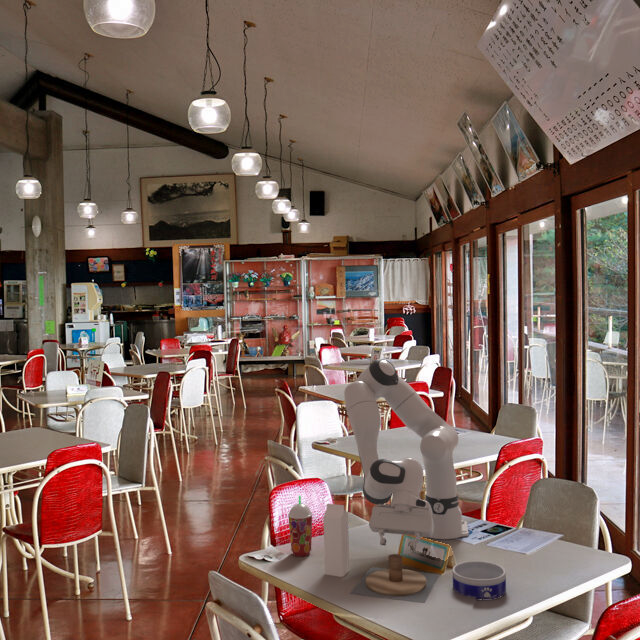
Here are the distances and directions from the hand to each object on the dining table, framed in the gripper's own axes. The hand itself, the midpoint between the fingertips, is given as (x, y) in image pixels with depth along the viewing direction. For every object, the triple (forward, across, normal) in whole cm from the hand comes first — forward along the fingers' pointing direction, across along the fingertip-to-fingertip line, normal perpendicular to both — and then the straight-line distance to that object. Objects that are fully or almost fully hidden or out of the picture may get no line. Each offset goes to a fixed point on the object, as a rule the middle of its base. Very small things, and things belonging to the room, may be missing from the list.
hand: (397, 546), depth 216 cm
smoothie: (-1, -37, +16) cm, 40 cm away
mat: (+11, +1, +3) cm, 12 cm away
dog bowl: (+8, +25, +6) cm, 27 cm away
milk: (+9, -19, +6) cm, 22 cm away
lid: (+11, +1, +2) cm, 11 cm away
